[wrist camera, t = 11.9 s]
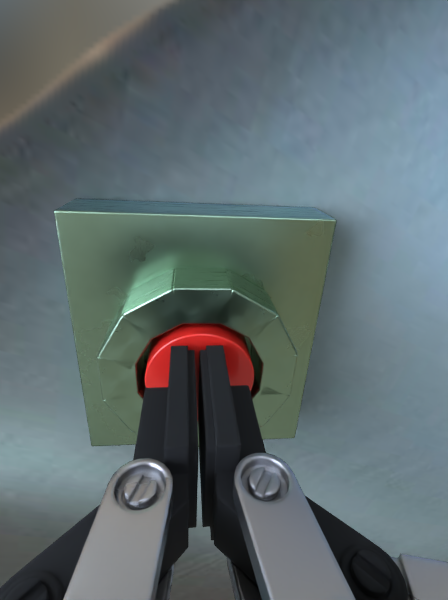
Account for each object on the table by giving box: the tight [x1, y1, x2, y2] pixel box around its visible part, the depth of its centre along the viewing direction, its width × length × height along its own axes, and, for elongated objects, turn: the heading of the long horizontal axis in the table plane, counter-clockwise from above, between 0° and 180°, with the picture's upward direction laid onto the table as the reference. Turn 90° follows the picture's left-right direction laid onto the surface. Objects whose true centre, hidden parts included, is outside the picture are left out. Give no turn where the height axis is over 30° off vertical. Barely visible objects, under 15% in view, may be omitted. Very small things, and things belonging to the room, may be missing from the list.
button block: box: [54, 199, 337, 447], centre depth 13 cm, size 10×9×4 cm
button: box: [145, 324, 254, 421], centre depth 12 cm, size 4×4×2 cm
